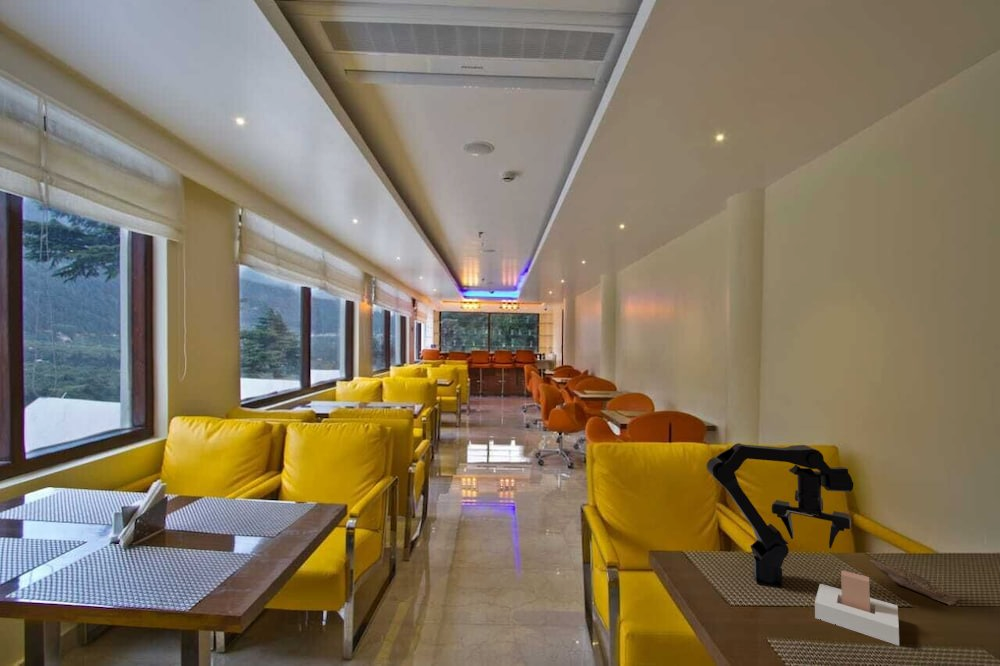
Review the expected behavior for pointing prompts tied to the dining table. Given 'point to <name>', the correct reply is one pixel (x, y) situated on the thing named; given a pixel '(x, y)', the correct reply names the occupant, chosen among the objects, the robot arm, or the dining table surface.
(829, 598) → the white slotted block
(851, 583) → the pink rectangular block
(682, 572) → the dining table surface
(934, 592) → the wooden fragment
